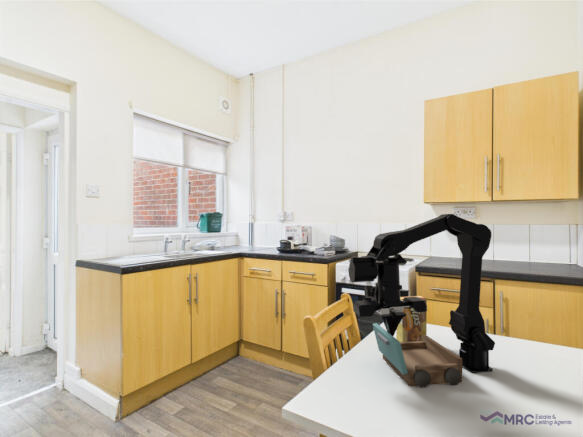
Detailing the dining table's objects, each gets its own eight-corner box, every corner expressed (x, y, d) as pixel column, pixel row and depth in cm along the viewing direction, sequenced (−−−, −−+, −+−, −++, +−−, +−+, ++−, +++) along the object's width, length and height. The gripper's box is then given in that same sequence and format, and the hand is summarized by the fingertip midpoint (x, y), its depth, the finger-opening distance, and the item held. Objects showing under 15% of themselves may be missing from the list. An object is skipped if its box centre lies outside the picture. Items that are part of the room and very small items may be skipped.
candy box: (419, 340, 108) (419, 295, 108) (427, 345, 104) (427, 298, 104) (395, 342, 106) (395, 296, 106) (403, 347, 102) (402, 299, 102)
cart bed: (425, 354, 96) (425, 334, 97) (465, 384, 79) (464, 360, 79) (381, 356, 95) (381, 336, 95) (411, 388, 77) (411, 363, 77)
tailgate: (382, 349, 93) (376, 322, 93) (407, 373, 78) (400, 342, 78) (376, 351, 93) (369, 324, 93) (400, 375, 78) (392, 344, 78)
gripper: (406, 273, 95) (408, 325, 95) (346, 277, 93) (348, 330, 93) (427, 280, 84) (429, 339, 84) (359, 284, 82) (361, 345, 82)
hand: (390, 338), depth 86 cm, fingers closed
